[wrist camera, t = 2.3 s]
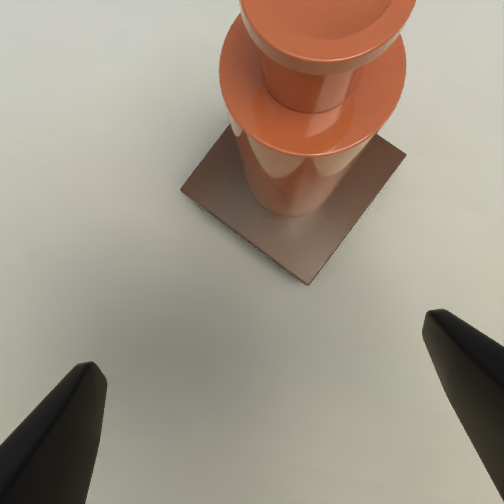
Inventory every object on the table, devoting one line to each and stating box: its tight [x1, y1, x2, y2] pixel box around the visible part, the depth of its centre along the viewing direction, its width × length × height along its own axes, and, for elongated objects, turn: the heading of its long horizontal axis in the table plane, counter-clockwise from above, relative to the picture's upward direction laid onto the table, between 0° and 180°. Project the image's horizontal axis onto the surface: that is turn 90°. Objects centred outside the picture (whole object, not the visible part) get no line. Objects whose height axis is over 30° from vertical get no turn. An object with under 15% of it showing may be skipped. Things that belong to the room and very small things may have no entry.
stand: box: [180, 124, 406, 286], centre depth 22 cm, size 10×10×2 cm
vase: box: [219, 0, 416, 217], centre depth 14 cm, size 6×6×14 cm
